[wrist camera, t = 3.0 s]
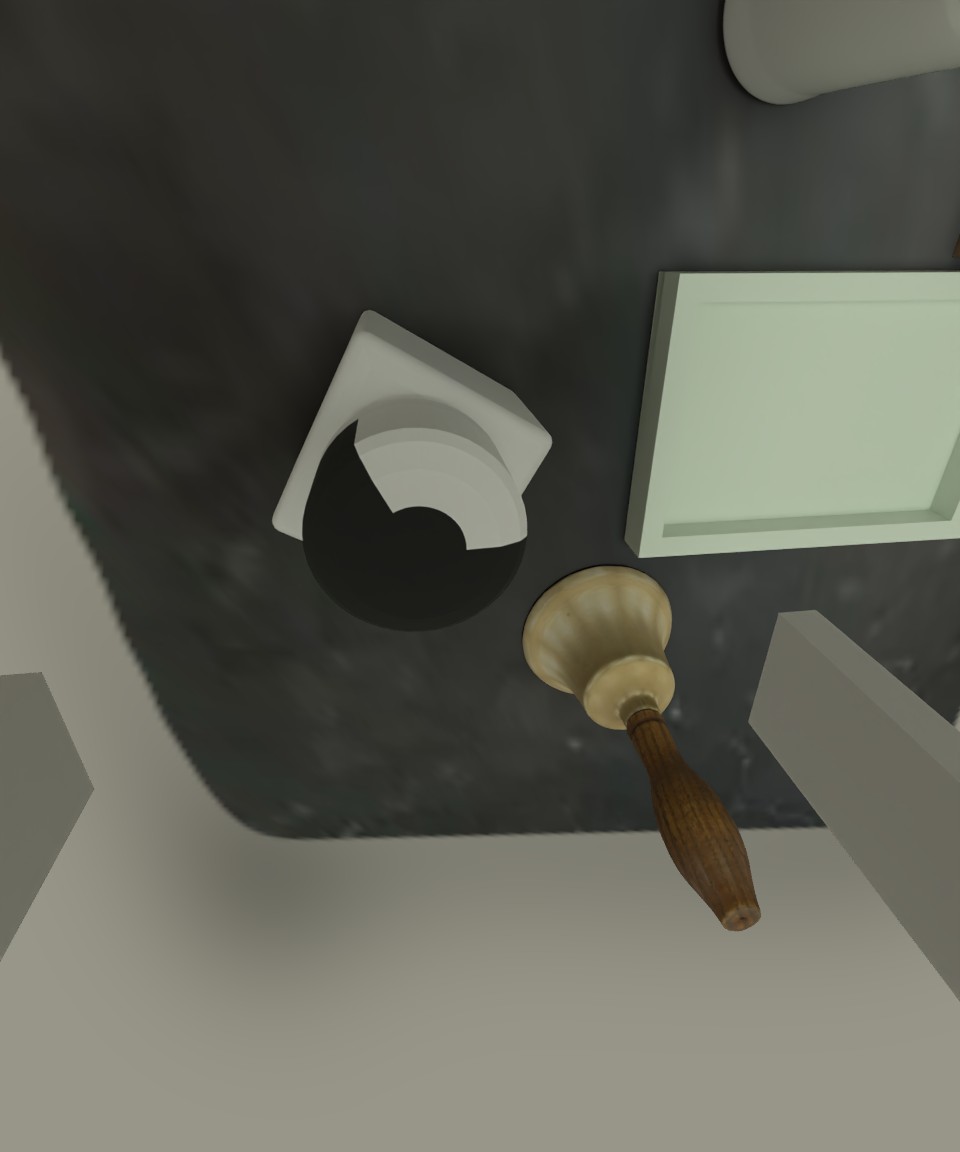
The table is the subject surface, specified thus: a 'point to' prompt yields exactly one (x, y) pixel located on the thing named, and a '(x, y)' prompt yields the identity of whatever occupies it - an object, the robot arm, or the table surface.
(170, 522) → the table surface
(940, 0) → the drinking glass
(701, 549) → the tray
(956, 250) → the walnut block
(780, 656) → the robot arm
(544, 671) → the hand bell
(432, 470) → the medicine bottle
